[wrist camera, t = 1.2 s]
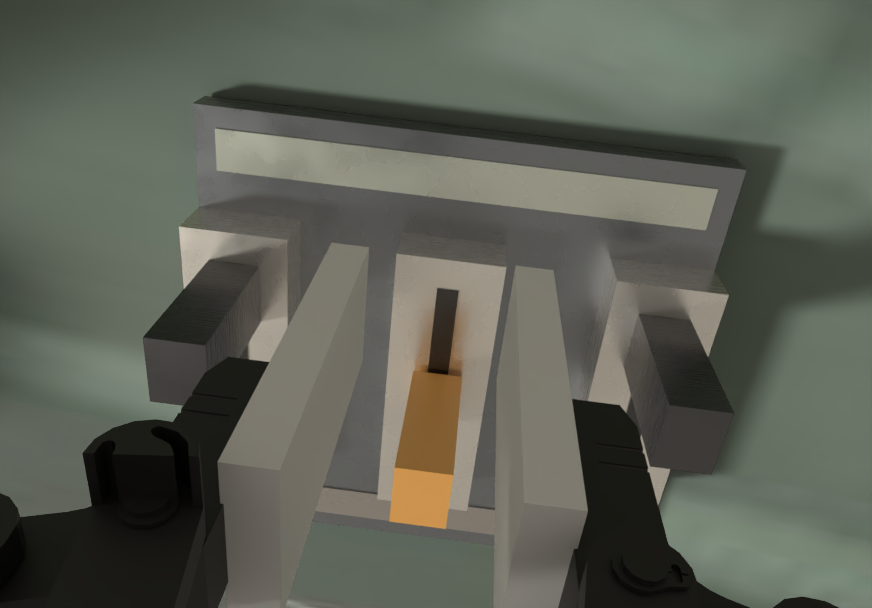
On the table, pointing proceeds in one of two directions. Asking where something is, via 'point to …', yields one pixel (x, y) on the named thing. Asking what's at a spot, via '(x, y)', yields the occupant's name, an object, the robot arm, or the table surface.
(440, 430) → the breaker handle
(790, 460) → the table surface
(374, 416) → the breaker panel
